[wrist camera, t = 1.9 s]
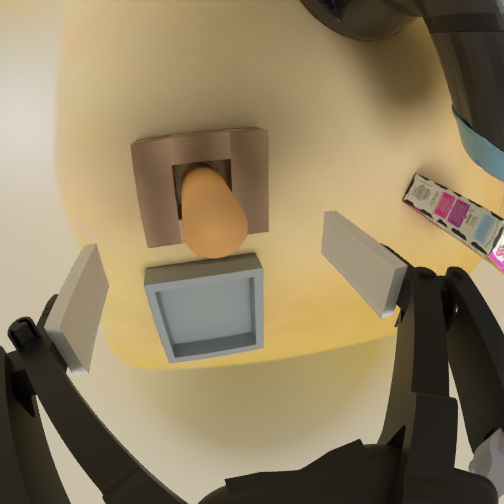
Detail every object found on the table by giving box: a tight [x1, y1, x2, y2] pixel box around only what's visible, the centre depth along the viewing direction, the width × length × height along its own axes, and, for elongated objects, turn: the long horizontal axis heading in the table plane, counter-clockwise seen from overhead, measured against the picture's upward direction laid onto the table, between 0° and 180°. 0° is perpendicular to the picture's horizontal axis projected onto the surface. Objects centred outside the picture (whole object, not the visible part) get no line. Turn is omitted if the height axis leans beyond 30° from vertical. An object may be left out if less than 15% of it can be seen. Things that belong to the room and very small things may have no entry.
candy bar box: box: [403, 174, 504, 274], centre depth 30 cm, size 11×5×16 cm, turn 65°
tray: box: [144, 253, 264, 363], centre depth 34 cm, size 13×13×4 cm
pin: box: [181, 161, 248, 258], centre depth 23 cm, size 4×4×13 cm
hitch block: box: [131, 128, 269, 248], centre depth 26 cm, size 12×10×4 cm
